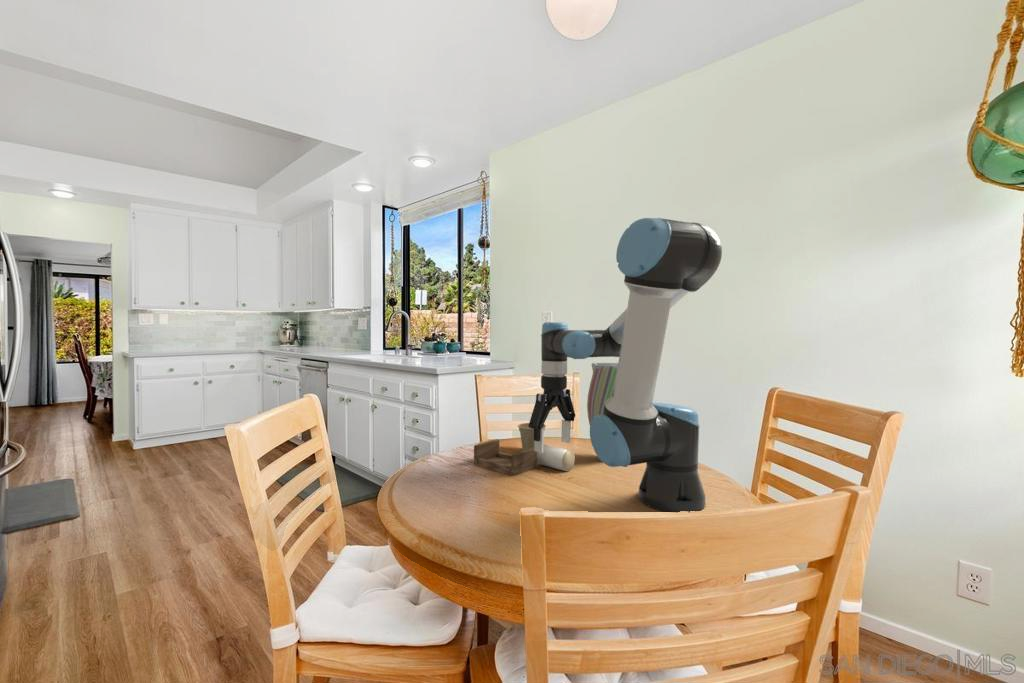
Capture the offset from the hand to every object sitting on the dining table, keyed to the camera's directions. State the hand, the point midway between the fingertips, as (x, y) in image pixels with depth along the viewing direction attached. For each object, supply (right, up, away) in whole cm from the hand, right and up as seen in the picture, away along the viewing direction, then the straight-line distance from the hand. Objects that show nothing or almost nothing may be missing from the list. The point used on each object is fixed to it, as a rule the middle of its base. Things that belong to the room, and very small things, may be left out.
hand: (552, 446), depth 136 cm
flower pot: (-5, -6, +18) cm, 19 cm away
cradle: (-14, -6, +2) cm, 15 cm away
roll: (0, -6, 0) cm, 6 cm away
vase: (+18, -6, +8) cm, 21 cm away
